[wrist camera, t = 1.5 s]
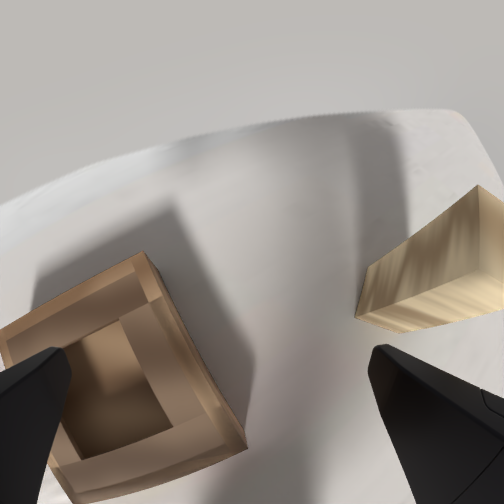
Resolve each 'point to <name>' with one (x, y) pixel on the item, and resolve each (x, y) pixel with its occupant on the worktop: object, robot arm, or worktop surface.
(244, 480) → the worktop surface
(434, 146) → the worktop surface
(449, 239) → the oak block
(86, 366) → the box
